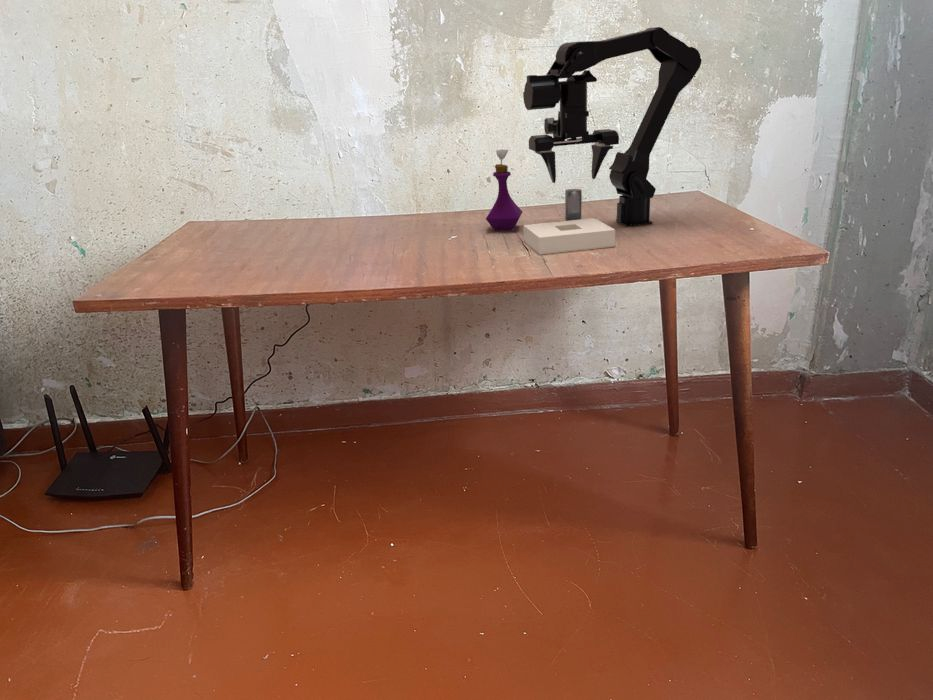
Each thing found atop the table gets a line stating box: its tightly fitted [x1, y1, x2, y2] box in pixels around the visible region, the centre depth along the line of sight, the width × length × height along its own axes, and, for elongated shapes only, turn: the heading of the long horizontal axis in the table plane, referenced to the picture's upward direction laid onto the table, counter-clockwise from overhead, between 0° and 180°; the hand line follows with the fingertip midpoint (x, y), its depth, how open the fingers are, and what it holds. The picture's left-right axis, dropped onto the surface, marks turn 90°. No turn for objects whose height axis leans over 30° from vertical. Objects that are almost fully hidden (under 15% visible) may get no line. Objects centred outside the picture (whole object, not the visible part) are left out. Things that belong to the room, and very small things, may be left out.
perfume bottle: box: [485, 149, 523, 232], centre depth 162 cm, size 8×8×18 cm
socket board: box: [523, 217, 616, 256], centre depth 149 cm, size 16×12×4 cm
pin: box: [564, 188, 583, 221], centre depth 158 cm, size 4×4×9 cm
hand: (573, 180), depth 156 cm, fingers open, 9 cm apart
